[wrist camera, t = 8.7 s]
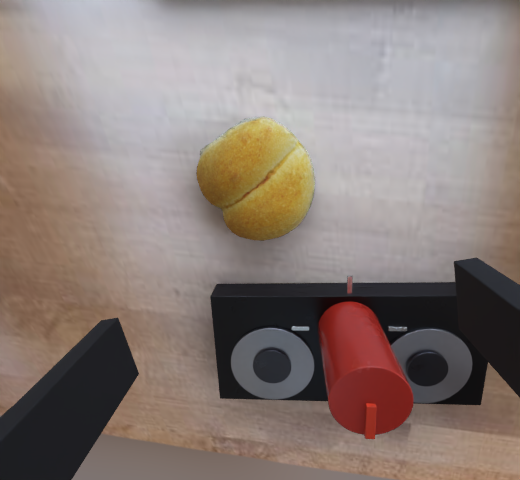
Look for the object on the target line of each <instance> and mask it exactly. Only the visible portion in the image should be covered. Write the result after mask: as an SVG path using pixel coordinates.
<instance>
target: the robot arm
mask: <svg viewBox="0 0 520 480" xmlns="http://www.w3.org/2000/svg"><path fill="white" fill-rule="evenodd" d="M454 268H455V281H456V295H457V309H458V323H459V329H460V331H461V332H462V333H463V334H464V335H465V336H466V337H467V338H468V340H469V341H470V342H471V343H472V344H473V345H474V346H475V348H476V349H477V350H478V351H479V352H480V353H481V354H482V355H483V357H484V358H485V359H486V360H487V361H488V362H489V363H490V364H491V366H492V367H493V368H494V369H495V370H496V371H497V372H498V373H499V375H500V376H501V377H502V378H503V379H504V380H505V381H506V383H507V384H508V385H509V386H510V387H511V388H512V389H513V390H514V392H515V393H516V394H517V395H518V396H519V397H520V285H519V284H517V283H515V282H514V281H512V280H511V279H509V278H508V277H506V276H505V275H503V274H501V273H500V272H498V271H497V270H495V269H494V268H492V267H491V266H489V265H487V264H486V263H484V262H483V261H481V260H480V259H478V258H472V259H466V260H460V261H454ZM138 374H139V373H138V370H137V367H136V365H135V362H134V359H133V357H132V354H131V351H130V348H129V346H128V343H127V340H126V338H125V335H124V332H123V330H122V327H121V324H120V322H119V319H118V318H113V319H107V320H101V321H100V322H99V323H98V324H97V325H96V326H95V327H94V328H93V329H92V330H91V331H90V332H89V333H88V334H87V335H86V336H85V337H84V338H83V339H82V340H81V341H80V342H79V343H78V344H77V345H75V346H74V347H73V348H72V349H71V350H70V351H69V352H68V353H67V354H66V355H65V356H64V357H63V358H62V359H61V360H60V361H59V362H58V363H57V364H56V365H55V366H54V367H53V368H52V369H51V370H50V371H49V372H48V373H47V374H46V375H45V376H44V377H43V378H42V379H40V380H39V381H38V382H37V383H36V384H35V385H34V386H33V387H32V388H31V389H30V390H29V391H28V392H27V393H26V394H25V395H24V396H23V397H22V398H21V399H20V400H19V401H18V402H17V403H16V404H15V405H14V406H13V407H11V408H10V409H9V410H7V411H6V412H5V413H4V414H3V415H2V416H1V417H0V480H71V479H72V478H73V476H74V475H75V473H76V472H77V470H78V468H79V467H80V465H81V464H82V462H83V461H84V459H85V457H86V456H87V454H88V453H89V451H90V450H91V448H92V447H93V445H94V443H95V442H96V440H97V439H98V437H99V436H100V434H101V432H102V431H103V429H104V428H105V426H106V425H107V423H108V421H109V420H110V418H111V417H112V415H113V414H114V412H115V410H116V409H117V407H118V406H119V404H120V403H121V401H122V400H123V398H124V396H125V395H126V393H127V392H128V390H129V389H130V387H131V385H132V384H133V382H134V381H135V379H136V378H137V376H138Z"/></svg>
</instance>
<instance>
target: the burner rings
mask: <svg viewBox="0 0 520 480" xmlns="http://www.w3.org/2000/svg"><path fill="white" fill-rule="evenodd" d="M390 345H391V347H392V349H393V352H394V354H395V356H396V358H397V360H398V362H399V364H400V366H401V368H402V370H403V372H404V374H405V376H406V379H407V381H408V383H409V385H410V387H411V389H412V392H413V397H414V403H434V402H438V401H441V400H444V399H446V398H449V397H451V396H452V395H454V394H455V393H457V392H458V391H459V390H460V389H461V388H462V387H463V386H464V385H465V384H466V382H467V380H468V379H469V377H470V374H471V370H472V357H471V353H470V351H469V349H468V347H467V346H466V344H465V343H464V342H463V341H462V340H461V339H460V338H459V337H458V336H456V335H455V334H453V333H451V332H449V331H446V330H443V329H439V328H430V327H427V328H418V329H414V330H411V331H408V332H406V333H404V334H402V335H400V336H399V337H397V338H396V339H395V340H393V341H392V342H391V343H390ZM231 368H232V371H233V374H234V376H235V378H236V380H237V381H238V383H239V384H240V385H241V386H242V387H243V388H244V389H245V390H247V391H248V392H250V393H251V394H253V395H255V396H258V397H261V398H265V399H273V400H275V399H285V398H288V397H291V396H294V395H296V394H298V393H299V392H300V391H302V390H303V389H304V388H305V387H306V386H307V385H308V384H309V382H310V380H311V378H312V376H313V372H314V358H313V354H312V352H311V349H310V348H309V346H308V345H307V343H306V342H305V341H304V340H303V339H302V338H301V337H300V336H298V335H297V334H295V333H294V332H292V331H289V330H287V329H284V328H280V327H262V328H258V329H254V330H252V331H250V332H248V333H247V334H245V335H244V336H243V337H241V338H240V340H239V341H238V342H237V343H236V345H235V347H234V349H233V352H232V356H231Z"/></svg>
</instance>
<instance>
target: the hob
mask: <svg viewBox="0 0 520 480" xmlns="http://www.w3.org/2000/svg"><path fill="white" fill-rule="evenodd" d="M348 301H350V302H358V303H361V304H363V305H365V306H367V307H369V308H370V309H371V310H372V311H373V312H374V313H375V315H376V316H377V318H378V320H379V322H380V325H381V327H382V329H383V331H384V333H385V335H386V337H387V339H388V341H389V343H391V342H392V341H393V340H395V339H396V338H397V337H399V336H400V335H402V334H404V333H406V332H408V331H411V330H414V329H418V328H427V327H430V328H439V329H443V330H446V331H449V332H451V333H453V334H455V335H456V336H458V337H459V338H460V339H461V340H462V341H463V342H464V343H465V344H466V346H467V347H468V349H469V351H470V353H471V357H472V370H471V374H470V377H469V379H468V380H467V382H466V384H465V385H464V386H463V387H462V388H461V389H460V390H459V391H458V392H457V393H455V394H454V395H452V396H451V397H449V398H446V399H444V400H441V401H438V402H434V403H419V404H457V405H481V400H482V394H483V388H484V382H485V376H486V370H487V364H488V361H487V360H486V359H485V358H484V357H483V355H482V354H481V353H480V352H479V351H478V350H477V349H476V348H475V346H474V345H473V344H472V343H471V342H470V341H469V340H468V338H467V337H466V336H465V335H464V334H463V333H462V332H461V331H460V329H459V323H458V309H457V295H456V282H449V283H352V276H347V283H300V284H217V285H216V287H215V289H214V291H213V293H212V295H211V307H212V318H213V328H214V339H215V349H216V360H217V370H218V381H219V391H220V398H225V399H264V400H273V399H265V398H261V397H258V396H255V395H253V394H251V393H250V392H248V391H247V390H245V389H244V388H243V387H242V386H241V385H240V384H239V383H238V381H237V380H236V378H235V376H234V374H233V371H232V368H231V356H232V352H233V349H234V347H235V345H236V343H237V342H238V341H239V340H240V338H241V337H243V336H244V335H245V334H247V333H248V332H250V331H252V330H254V329H258V328H262V327H280V328H284V329H287V330H289V331H292V332H294V333H295V334H297V335H298V336H300V337H301V338H302V339H303V340H304V341H305V342H306V343H307V345H308V346H309V348H310V349H311V352H312V354H313V358H314V372H313V376H312V378H311V380H310V382H309V384H308V385H307V386H306V387H305V388H304V389H303V390H302V391H300V392H299V393H298V394H296V395H294V396H291V397H288V398H285V399H275V400H302V401H328V397H327V390H326V383H325V376H324V369H323V362H322V355H321V348H320V341H319V334H318V324H319V321H320V318H321V316H322V315H323V313H324V312H325V311H326V310H327V309H328V308H330V307H331V306H333V305H335V304H338V303H341V302H348ZM413 403H414V402H413Z"/></svg>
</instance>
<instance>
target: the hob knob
mask: <svg viewBox="0 0 520 480" xmlns="http://www.w3.org/2000/svg"><path fill="white" fill-rule="evenodd" d="M318 334H319V341H320V348H321V355H322V362H323V369H324V376H325V383H326V390H327V397H328V404H329V409H330V411H331V414H332V415H333V417H334V418H335V420H336V421H337V422H338V423H339V424H340V425H342V426H343V427H344V428H346V429H348V430H350V431H352V432H355V433H358V434H364V436H365V439H375V435H377V434H383V433H386V432H389V431H391V430H394V429H395V428H397V427H399V426H400V425H401V424H402V423H403V422H404V421H405V420H406V419H407V418H408V417H409V415H410V413H411V411H412V408H413V402H414V397H413V392H412V389H411V387H410V385H409V383H408V381H407V379H406V376H405V374H404V372H403V370H402V368H401V366H400V364H399V362H398V360H397V358H396V356H395V354H394V352H393V349H392V347H391V345H390V343H389V341H388V339H387V337H386V335H385V333H384V331H383V329H382V327H381V325H380V322H379V320H378V318H377V316H376V315H375V313H374V312H373V311H372V310H371V309H370V308H369V307H367V306H365V305H363V304H361V303H358V302H350V301H348V302H341V303H338V304H335V305H333V306H331V307H330V308H328V309H327V310H326V311H325V312H324V313H323V315H322V316H321V318H320V321H319V324H318Z"/></svg>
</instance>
